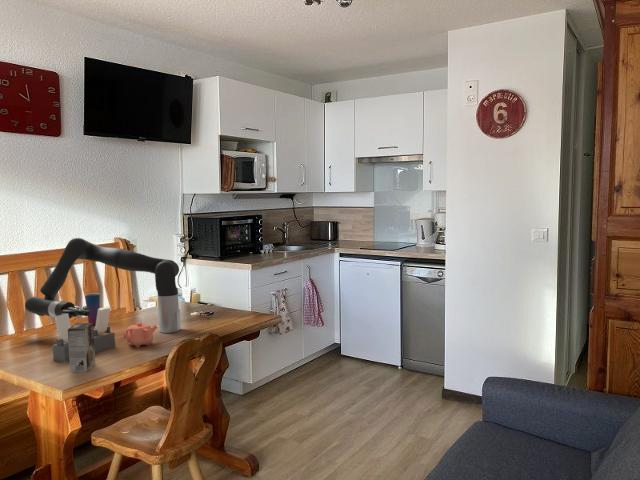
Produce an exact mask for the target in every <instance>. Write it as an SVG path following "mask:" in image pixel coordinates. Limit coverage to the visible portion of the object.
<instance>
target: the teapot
mask: <svg viewBox="0 0 640 480" xmlns="http://www.w3.org/2000/svg"><path fill="white" fill-rule="evenodd" d="M156 329H158V326H157V325H155V324H154V325H152V327H151V325H149V324H147V323H143V322H139V321H138V322H136V324H131V325H128V327H127V328H125V329H124V330H123V339H125V340H126V341H127V343H129V346H130V347H133V346H135V347H136V348H137V349H138V348H140V347H141V346H143V345H145V346H151V343H153V342H154V335H153V334H154V332H155V330H156Z"/></svg>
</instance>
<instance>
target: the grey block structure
mask: <svg viewBox="0 0 640 480" xmlns="http://www.w3.org/2000/svg"><path fill="white" fill-rule="evenodd" d="M93 334H94V350H95V354H96V353H99V352H101V351H105V350H108V349H111V348H114V347H116V336H115V335H116V334H115V332H114V331H111V326H109V325H108V328H107V331H106V332H103V333H100V334H98V330H95V328H93ZM55 340H56V343H54V344H52V358H53V361H58V362H63V363H66V362H70V358H69V342H68V343H65V344H63V339H59V338H56V339H55Z"/></svg>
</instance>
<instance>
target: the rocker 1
mask: <svg viewBox="0 0 640 480" xmlns="http://www.w3.org/2000/svg"><path fill="white" fill-rule="evenodd" d="M53 318H54V322H55V326H56V330H57V334H58V339H63V344H65V343H68V342H69V341H68V329H69V328H70V327H72V325H71V321H70V319H69V315H68V313H67V314H63V315H59V316H55V317H53Z"/></svg>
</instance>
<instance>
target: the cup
mask: <svg viewBox="0 0 640 480" xmlns="http://www.w3.org/2000/svg"><path fill="white" fill-rule="evenodd" d="M84 298H85V306H87V310H89V311H90V315H89V316H87V323H93V326H96V319H97V312H98V309H100V308H101V307H100V306H101V305H100V304H101V301H100V300H101V299H100V298H101V293H98V292H96V293H94V292H93V293H87V294H85V295H84Z"/></svg>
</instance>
